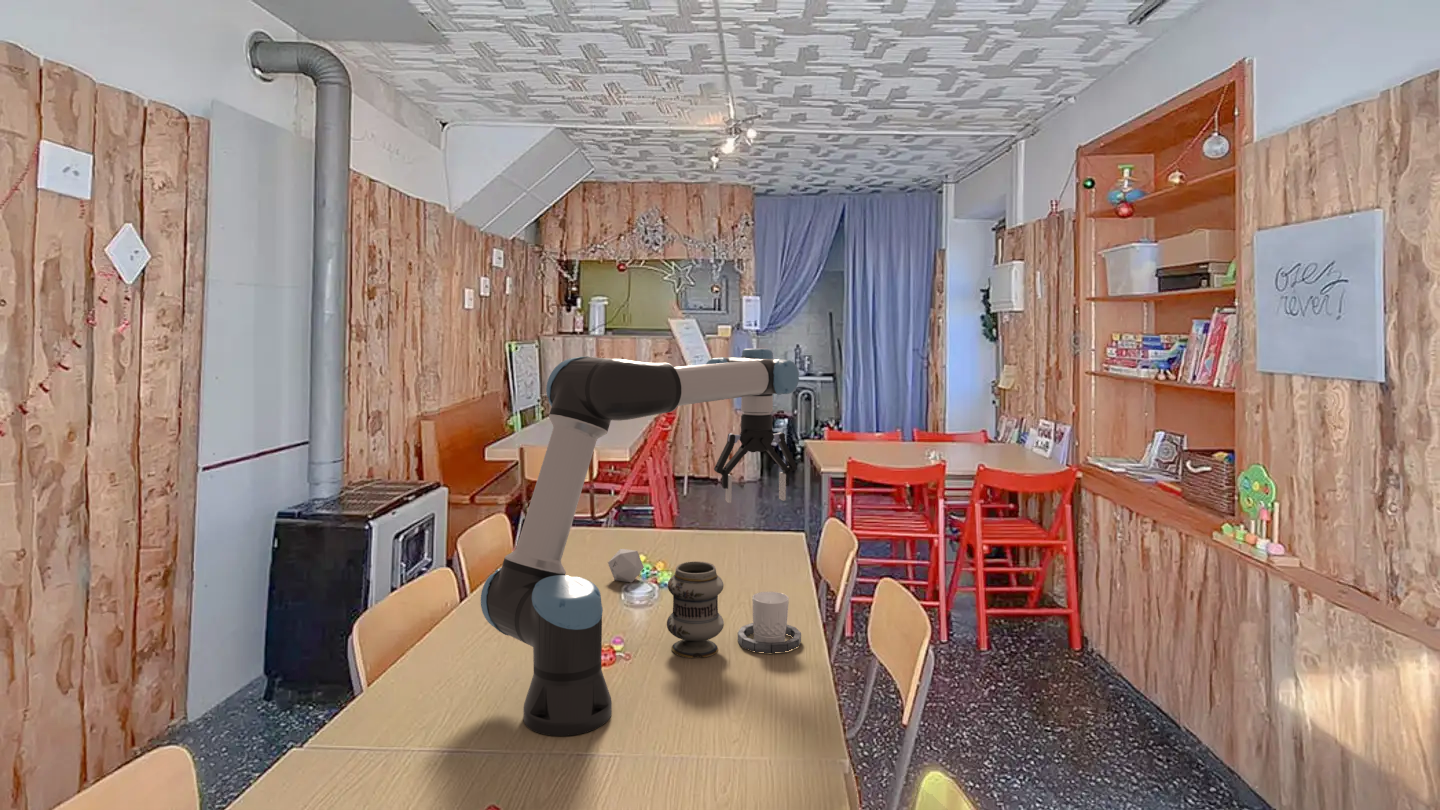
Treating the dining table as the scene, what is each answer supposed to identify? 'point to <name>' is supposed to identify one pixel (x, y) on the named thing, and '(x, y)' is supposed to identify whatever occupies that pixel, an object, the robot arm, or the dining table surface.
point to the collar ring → (767, 646)
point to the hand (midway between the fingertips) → (755, 500)
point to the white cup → (770, 616)
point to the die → (625, 565)
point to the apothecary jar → (695, 609)
